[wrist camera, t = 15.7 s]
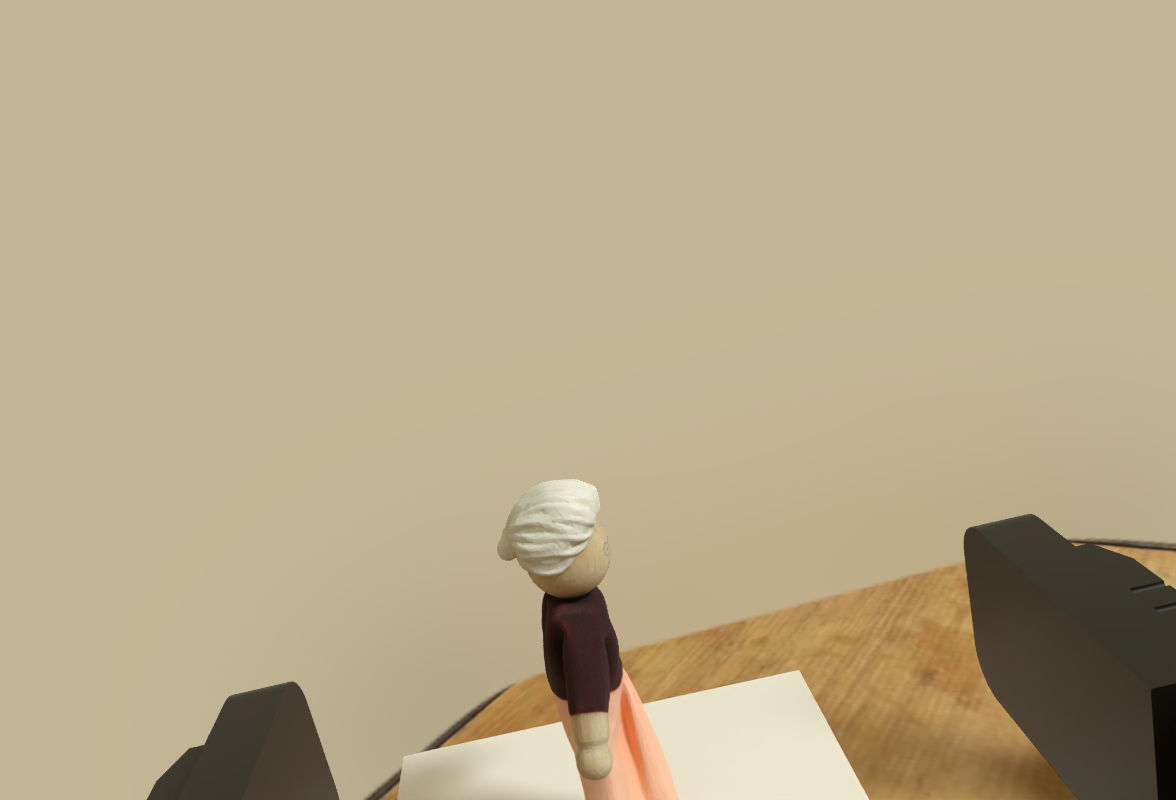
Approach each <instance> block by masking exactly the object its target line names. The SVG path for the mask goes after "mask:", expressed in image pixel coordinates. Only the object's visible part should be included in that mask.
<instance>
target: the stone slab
mask: <svg viewBox="0 0 1176 800" xmlns="http://www.w3.org/2000/svg"><path fill="white" fill-rule="evenodd" d="M642 705H643V707H644V710H645V712H646V714H647V716H648V718H649V720H650V723H651V725H652V727H653V729H654V732H655V734H656V736H657V738H658V741H659V743H660V745H661V748H662V750H663V753H664V756H665V758H666V761H667V764H668V767H669V769H670V772H671V775H672V779H673V782H674V785H675V789H676V792H677V795H678V798H679V800H869V799H868V797H867V795H866V793H865V791H864V789H863V788H862V786H861V784H860V782H859V780H858V778H857V777H856V775H855V773H854V771H853V769H852V767H851V765H850V764H849V762H848V760H847V758H846V756H845V754H844V753H843V751H842V749H841V747H840V745H839V743H838V741H837V740H836V738H835V736H834V734H833V732H832V730H831V729H830V727H829V725H828V723H827V721H826V719H825V717H824V716H823V714H822V712H821V710H820V708H819V706H818V705H817V703H816V701H815V699H814V697H813V695H812V694H811V692H810V690H809V688H808V686H807V684H806V682H805V681H804V679H803V677H802V675H801V673H800V671H799V670H797V671H793V672H788V673H783V674H779V675H774V676H770V677H765V678H760V679H756V680H751V681H747V682H742V683H738V684H733V685H728V686H724V687H719V688H715V689H710V690H705V691H701V692H696V693H692V694H687V695H682V696H678V697H673V698H669V699H664V700H660V701H655V702H650V703H646V704H642ZM397 800H585V796H584V791H583V787H582V783H581V779H580V775H579V771H578V769H577V765H576V759H575V754H574V751H573V749H572V747H571V745H570V743H569V740H568V738H567V735H566V733H565V730H564V727H563V724H562V722H559V723H554V724H549V725H545V726H540V727H536V728H531V729H526V730H522V731H517V732H513V733H508V734H503V735H499V736H494V737H490V738H485V739H481V740H476V741H471V742H467V743H462V744H458V745H453V746H448V747H444V748H439V749H435V750H430V751H425V752H421V753H416V754H412V755H407V756H404V759H403V766H402V772H401V778H400V785H399V791H398V797H397Z"/></svg>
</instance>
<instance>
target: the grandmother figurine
mask: <svg viewBox="0 0 1176 800" xmlns="http://www.w3.org/2000/svg"><path fill="white" fill-rule="evenodd" d="M599 509H600V502H599V496H598V493H597V490H596V487H594V486H593V485H590V484H588V483H584V482H582V481H580V480H576V479H566V480H553V481H547V482H544V483H541V484H538V485H536V486H534V487H533V488H531V489H530V490H528V491H527V492H526V493H525V494H524V495H523V496H522V497H521V499H520V500H519V501H518V502H517V503H516V504H515V506H514V507H513V509H512V511H511V513H510V515H509V516H508V519H507V523H506V527H505V529H504V530H503V533H502V537H501V540H500V542H499V544H498V547H497V550H498V554H499V556H500V557H501V558H502V559H503V560H513V559H515V558H517V560H518V562H519V564H520V566H521V567H522V568H523V569H524V570H526V571H528V574H529V576H530V577H531V579H532V580H533V582H534V583H535V584H536V585H537V586H538V587H539V588H540V589H542V590H543V591H544V592H545V594H544V597H543V602H542V629H543V644H544V645H543V646H544V660H545V667H546V674H547V678H548V682H549V684H550V686H551V689H552V691H553V693H554V694H555V698H556V702H557V707H558V711H559V714H560V717H561V721H562V724H563V727H564V730H565V733H566V735H567V738H568V740H569V743H570V745H571V747H572V749H573V751H574V754H575V759H576V765H577V769H578V771H579V775H580V779H581V783H582V787H583V791H584V796H585V800H679V798H678V795H677V792H676V789H675V785H674V782H673V779H672V775H671V772H670V769H669V767H668V764H667V761H666V758H665V756H664V753H663V750H662V748H661V745H660V743H659V741H658V738H657V736H656V734H655V732H654V729H653V727H652V725H651V723H650V720H649V718H648V716H647V714H646V712H645V710H644V707H643V705H642V703H641V701H640V698H639V696H638V694H637V692H636V690H635V688H634V686H633V684H632V682H631V681H630V679H629V677H628V675H627V674H626V672H625V670H624V669H623V667H622V661H621V659H620V656H619V646H618V640H617V637H616V633H615V631H614V629H613V626H612V624H611V622H610V619H609V615H608V611H607V605H606V603H605V599H604V596H603V594H602V592H601V591H600V590H599V589H598V588H597V585H598V584H599V583H600V582H601V581H602V580H603V578H604V576H605V575H606V572H607V570H608V568H609V564H610V545H609V541H608V538H607V535H606V534H605V532H604V530H603V529H602V527H601V526H600V525H599V524H598V523H597V522H596V515H597V514H598V512H599Z"/></svg>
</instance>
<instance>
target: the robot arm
mask: <svg viewBox="0 0 1176 800" xmlns="http://www.w3.org/2000/svg"><path fill="white" fill-rule="evenodd" d="M964 555H965V563H966V571H967V580H968V588H969V596H970V605H971V613H972V622H973V630H974V638H975V646H976V651H977V656H978V659H979V663H980V666H981V669H982V672H983V674H984V677H985V679H986V681H987V684H988V686H989V687H990V689H991V691H992V693H993V694H994V696H995V697H996V699H997V700H998V701H999V703H1000V704H1001V705H1002V706H1003V708H1004V709H1005V710H1006V711H1007V713H1008V714H1009V715H1010V716H1011V717H1012V719H1013V720H1014V721H1015V722H1016V724H1017V725H1018V726H1019V727H1020V729H1021V730H1022V731H1023V732H1024V733H1025V735H1026V736H1027V737H1028V738H1029V740H1030V741H1031V742H1032V743H1033V745H1034V746H1035V747H1036V748H1037V749H1038V751H1039V752H1040V753H1041V754H1042V756H1043V757H1044V758H1045V759H1046V761H1047V762H1048V763H1049V764H1050V765H1051V767H1052V768H1053V769H1054V770H1055V772H1056V773H1057V774H1058V775H1059V777H1060V778H1061V779H1062V780H1063V781H1064V783H1065V784H1066V785H1067V786H1068V788H1069V789H1070V790H1071V791H1072V793H1073V794H1074V795H1075V796H1076V797H1077V799H1078V800H1176V589H1174V588H1173V587H1172V586H1170V585H1169V586H1165V584H1164V581H1163V580H1162V579H1161V578H1159V577H1158V576H1157V575H1155V574H1154V573H1152V572H1151V571H1150V570H1148V569H1147V568H1146V567H1144V566H1143V565H1142V564H1140V563H1139V562H1137V561H1136V560H1135V559H1133V558H1131V557H1128V556H1125V555H1122V554H1119V553H1116V552H1113V551H1110V550H1107V549H1104V548H1102V547H1099V546H1096V545H1093V544H1090V543H1089V544H1085V545H1080V546H1076V547H1075V546H1074V545H1073V544H1071V543H1070V542H1069V541H1068V540H1066V539H1065V538H1064V537H1063V536H1061V535H1060V534H1059V533H1057V532H1056V531H1055V530H1053V529H1052V528H1051V527H1050V526H1048V525H1047V524H1046V523H1045V522H1044V521H1042V520H1041V519H1040V518H1038V517H1037V516H1035V515H1033V514H1027V515H1022V516H1018V517H1014V518H1009V519H1005V520H1000V521H996V522H992V523H988V524H983V525H979V526H975V527H970V528H968V529H967V530H966V532H965V535H964ZM147 800H339V797H338V793H337V790H336V786H335V783H334V780H333V777H332V774H331V772H330V769H329V766H328V763H327V760H326V757H325V754H324V751H323V748H322V745H321V742H320V739H319V736H318V733H317V730H316V727H315V724H314V722H313V719H312V716H311V713H310V710H309V707H308V704H307V701H306V698H305V696H304V694H303V692H302V690H301V688H300V687H299V686H298V685H297V683H295V682H287V683H283V684H279V685H274V686H270V687H266V688H261V689H257V690H253V691H248V692H244V693H239V694H235V695H232V696H229V697H228V698H227V700H226V701H225V703H224V705H223V707H222V709H221V711H220V713H219V716H218V718H217V720H216V722H215V724H214V726H213V728H212V730H211V732H210V734H209V736H208V739H207V740H206V743H205V745H202V746H198V747H194V748H190V749H188V750H187V751H186V752H185V753H184V754H183V755H182V756H181V757H180V758H179V759H178V760H177V761H176V762H175V763H174V764H173V765H172V766H171V767H170V768H169V769H168V770H167V771H166V772H165V773H164V774H163V775H162V776H161V777H160V778H159V779H158V780H157V781H156V783H155V785H154V787H153V789H152V791H151V793H150V795H149V797H148V799H147Z"/></svg>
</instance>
